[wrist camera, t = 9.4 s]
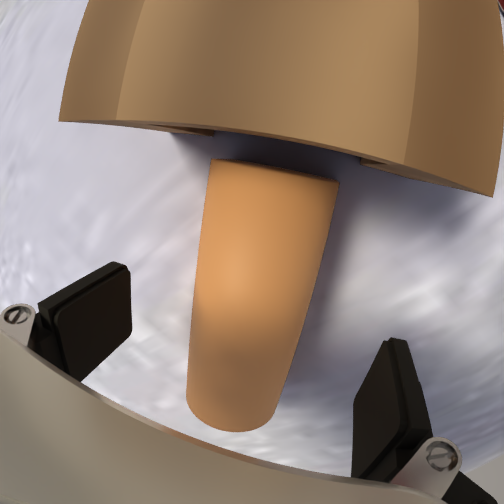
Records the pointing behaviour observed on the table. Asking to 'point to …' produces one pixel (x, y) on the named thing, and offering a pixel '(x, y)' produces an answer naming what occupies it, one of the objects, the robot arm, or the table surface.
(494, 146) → the block
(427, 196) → the table surface
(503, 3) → the soda can
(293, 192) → the dowel
